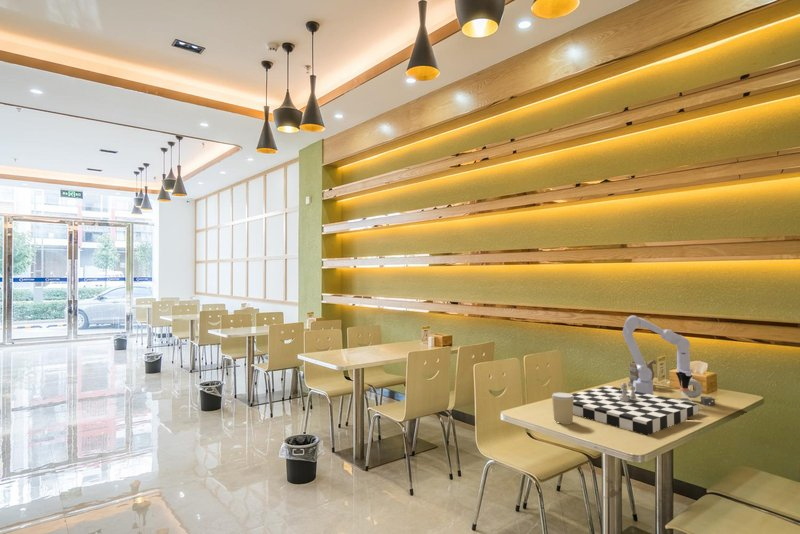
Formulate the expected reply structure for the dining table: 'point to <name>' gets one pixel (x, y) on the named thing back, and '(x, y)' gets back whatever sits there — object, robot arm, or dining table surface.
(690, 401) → the track board
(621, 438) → the dining table surface
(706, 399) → the die
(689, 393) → the donut
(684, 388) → the pawn
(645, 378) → the robot arm
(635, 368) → the tankard
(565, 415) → the coffee cup
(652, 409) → the checkerboard
